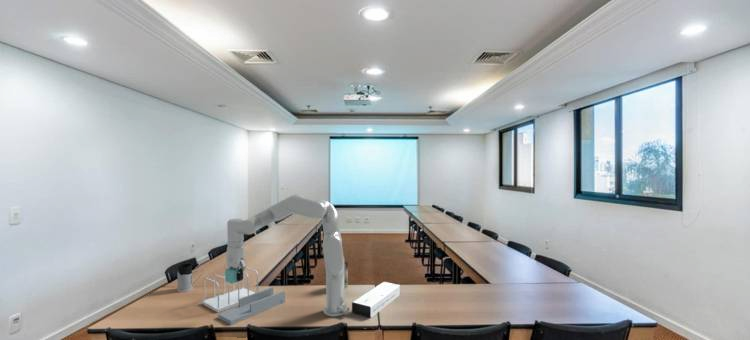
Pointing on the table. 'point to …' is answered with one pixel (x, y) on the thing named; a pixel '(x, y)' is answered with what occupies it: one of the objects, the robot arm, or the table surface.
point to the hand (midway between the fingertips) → (236, 278)
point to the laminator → (376, 299)
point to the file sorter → (227, 295)
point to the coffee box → (345, 274)
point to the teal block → (231, 275)
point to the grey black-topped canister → (185, 277)
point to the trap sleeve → (253, 305)
